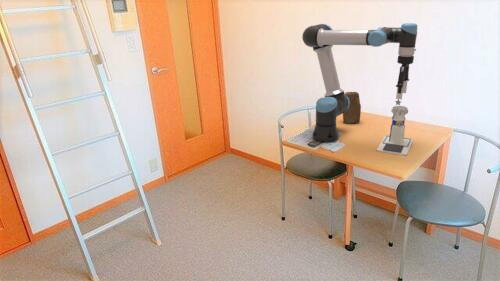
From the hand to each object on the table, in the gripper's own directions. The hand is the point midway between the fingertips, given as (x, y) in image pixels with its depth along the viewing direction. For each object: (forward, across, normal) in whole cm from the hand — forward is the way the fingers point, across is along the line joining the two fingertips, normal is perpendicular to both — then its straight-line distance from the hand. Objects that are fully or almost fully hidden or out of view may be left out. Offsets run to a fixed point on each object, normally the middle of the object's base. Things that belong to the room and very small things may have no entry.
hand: (401, 96), depth 190 cm
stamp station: (+27, -5, -1) cm, 27 cm away
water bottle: (+26, 0, -1) cm, 26 cm away
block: (+27, +25, +32) cm, 49 cm away
